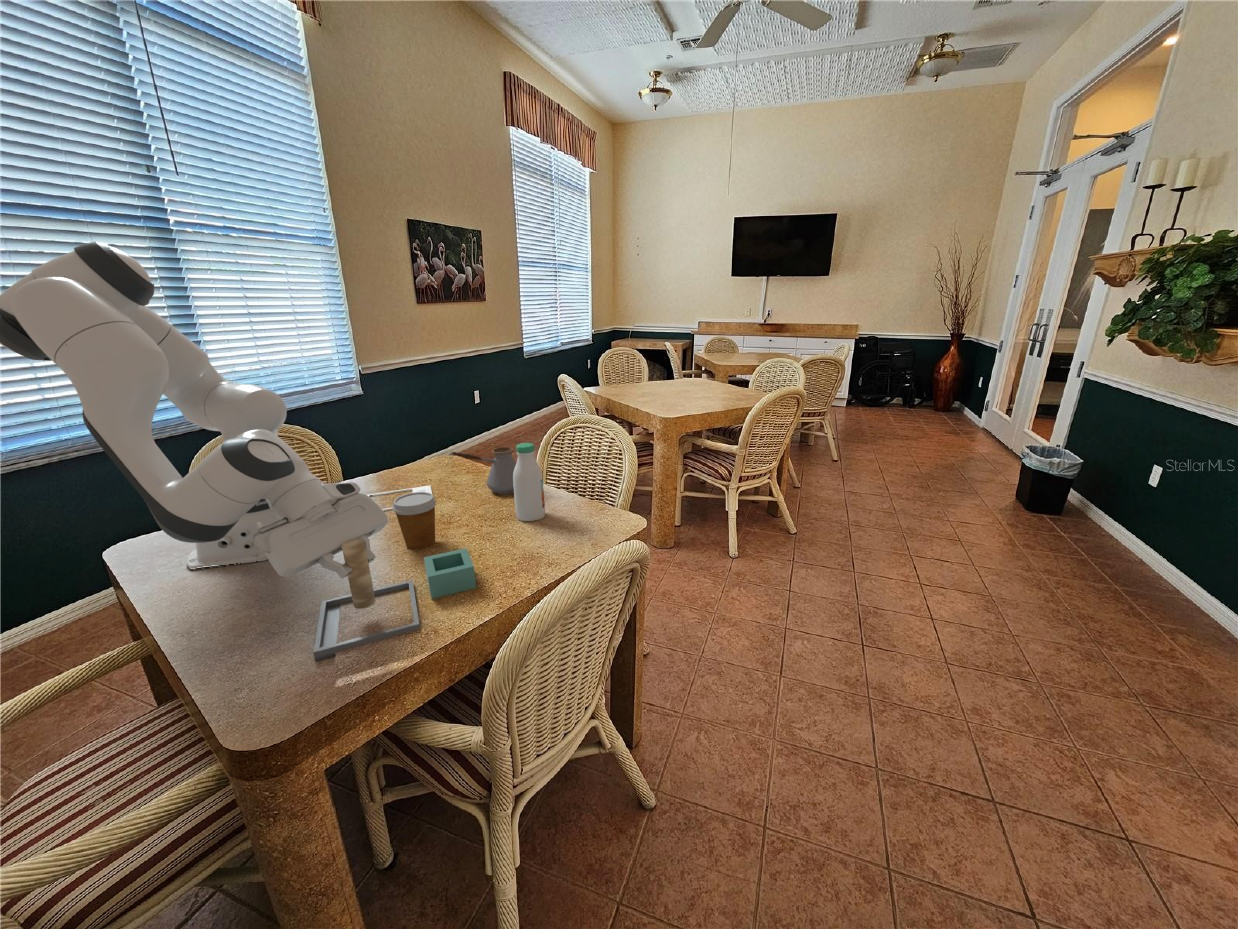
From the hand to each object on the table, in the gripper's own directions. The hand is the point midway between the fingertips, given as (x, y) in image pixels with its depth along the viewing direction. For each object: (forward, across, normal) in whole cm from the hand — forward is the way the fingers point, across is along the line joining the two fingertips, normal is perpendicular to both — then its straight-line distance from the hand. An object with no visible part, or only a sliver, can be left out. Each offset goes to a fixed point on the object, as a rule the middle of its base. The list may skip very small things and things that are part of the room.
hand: (359, 567), depth 86 cm
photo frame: (-20, +48, +36) cm, 63 cm away
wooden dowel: (+5, 0, +6) cm, 7 cm away
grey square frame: (+8, 0, +8) cm, 11 cm away
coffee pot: (-4, +61, +20) cm, 64 cm away
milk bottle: (+10, +50, +6) cm, 51 cm away
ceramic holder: (+12, +15, +4) cm, 19 cm away
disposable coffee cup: (-1, +27, +17) cm, 32 cm away
